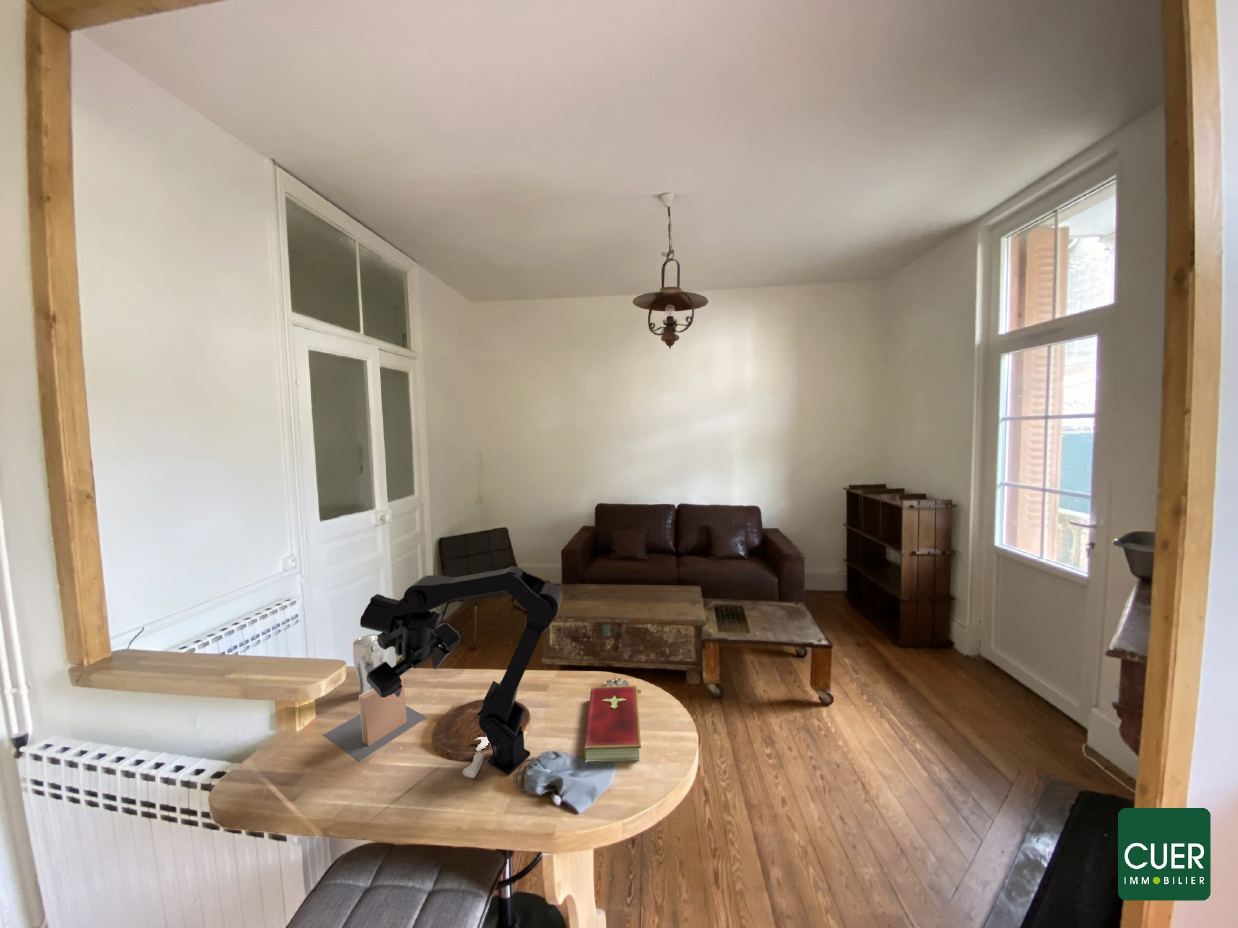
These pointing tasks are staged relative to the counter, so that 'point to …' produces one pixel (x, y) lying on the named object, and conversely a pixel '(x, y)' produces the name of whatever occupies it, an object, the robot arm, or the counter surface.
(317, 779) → the counter surface
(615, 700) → the hardcover book
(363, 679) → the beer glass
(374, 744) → the mat
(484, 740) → the knife
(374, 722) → the tile
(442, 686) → the counter surface
